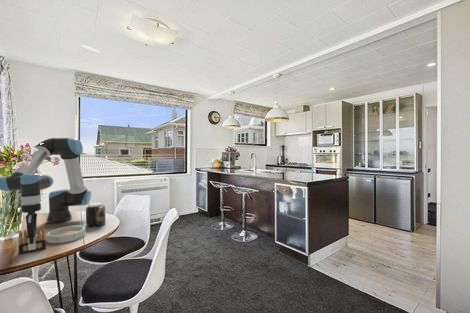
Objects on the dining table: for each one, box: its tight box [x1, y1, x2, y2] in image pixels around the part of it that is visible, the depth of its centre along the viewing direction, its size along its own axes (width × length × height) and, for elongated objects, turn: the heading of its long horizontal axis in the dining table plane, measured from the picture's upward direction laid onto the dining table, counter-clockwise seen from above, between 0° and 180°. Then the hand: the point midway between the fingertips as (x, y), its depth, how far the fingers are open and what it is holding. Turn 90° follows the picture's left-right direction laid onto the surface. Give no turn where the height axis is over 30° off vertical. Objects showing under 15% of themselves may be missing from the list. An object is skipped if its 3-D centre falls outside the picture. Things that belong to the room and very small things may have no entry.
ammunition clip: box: [17, 226, 47, 256], centre depth 117 cm, size 11×2×12 cm, turn 129°
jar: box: [85, 202, 107, 228], centre depth 160 cm, size 12×12×15 cm
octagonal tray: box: [46, 224, 87, 244], centre depth 137 cm, size 19×19×4 cm
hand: (32, 248), depth 117 cm, fingers open, 3 cm apart
